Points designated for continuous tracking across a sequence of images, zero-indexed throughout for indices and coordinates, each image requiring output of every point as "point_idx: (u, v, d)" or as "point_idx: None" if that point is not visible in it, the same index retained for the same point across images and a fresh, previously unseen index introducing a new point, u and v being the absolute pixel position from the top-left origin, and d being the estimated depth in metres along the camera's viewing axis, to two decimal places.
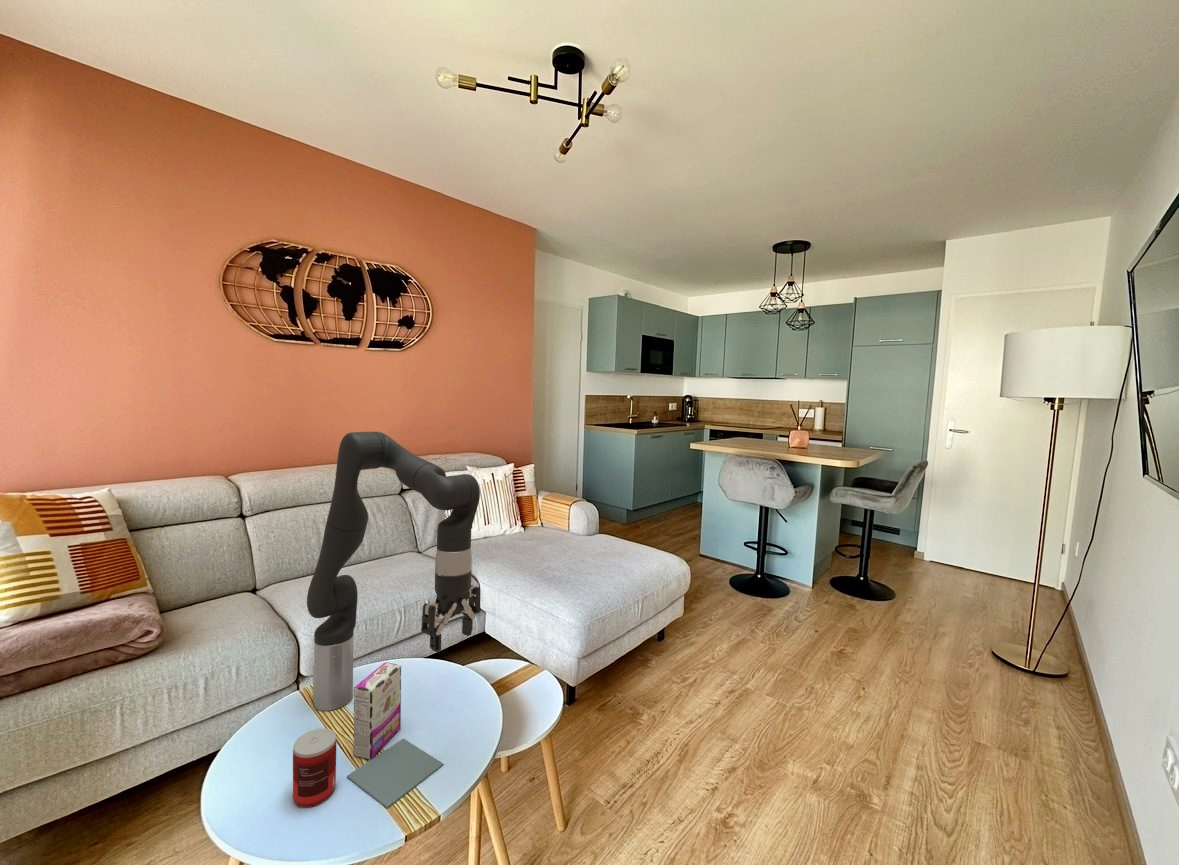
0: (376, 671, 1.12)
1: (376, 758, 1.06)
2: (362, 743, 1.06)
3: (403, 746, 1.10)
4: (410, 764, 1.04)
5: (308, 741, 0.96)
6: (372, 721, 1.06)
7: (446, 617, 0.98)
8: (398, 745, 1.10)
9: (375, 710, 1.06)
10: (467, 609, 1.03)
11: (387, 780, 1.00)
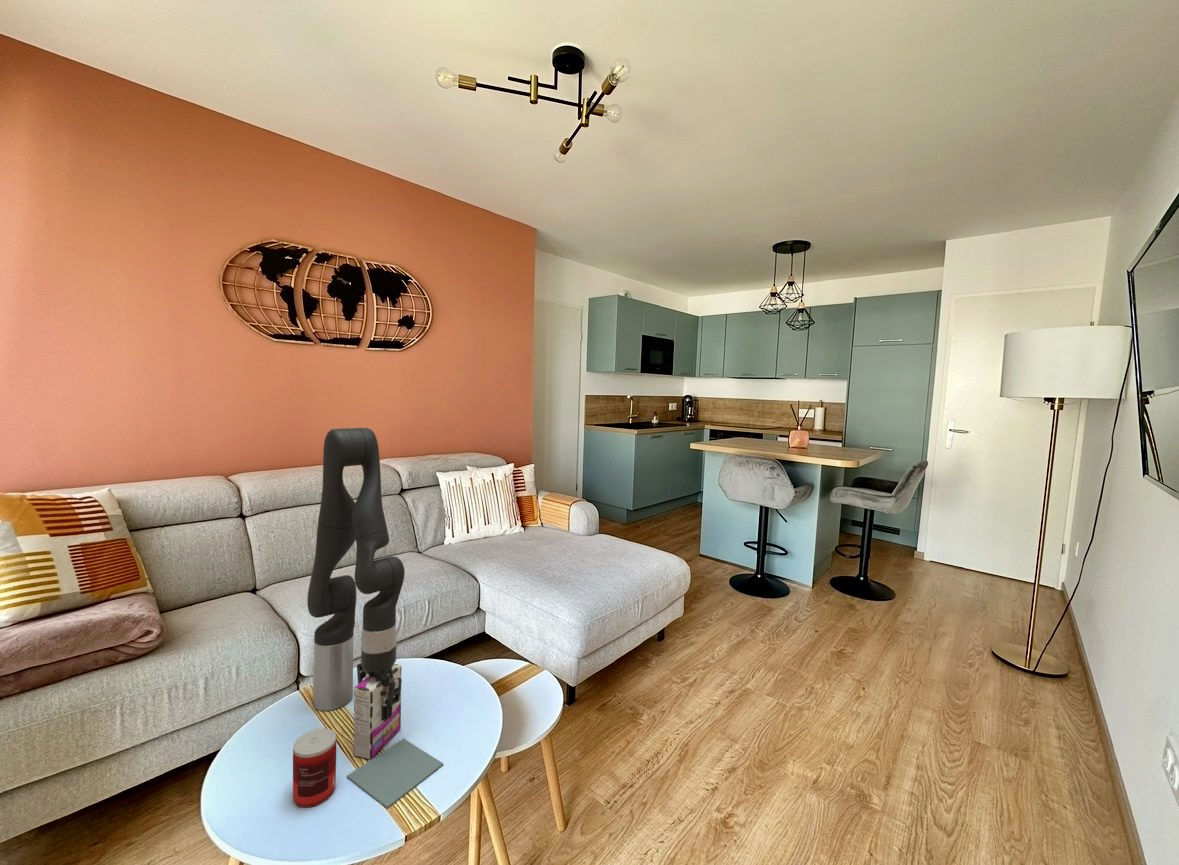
0: None
1: (376, 758, 1.06)
2: (362, 743, 1.06)
3: (403, 746, 1.10)
4: (410, 764, 1.04)
5: (308, 741, 0.96)
6: (372, 721, 1.06)
7: None
8: (398, 745, 1.10)
9: (375, 710, 1.06)
10: None
11: (387, 780, 1.00)
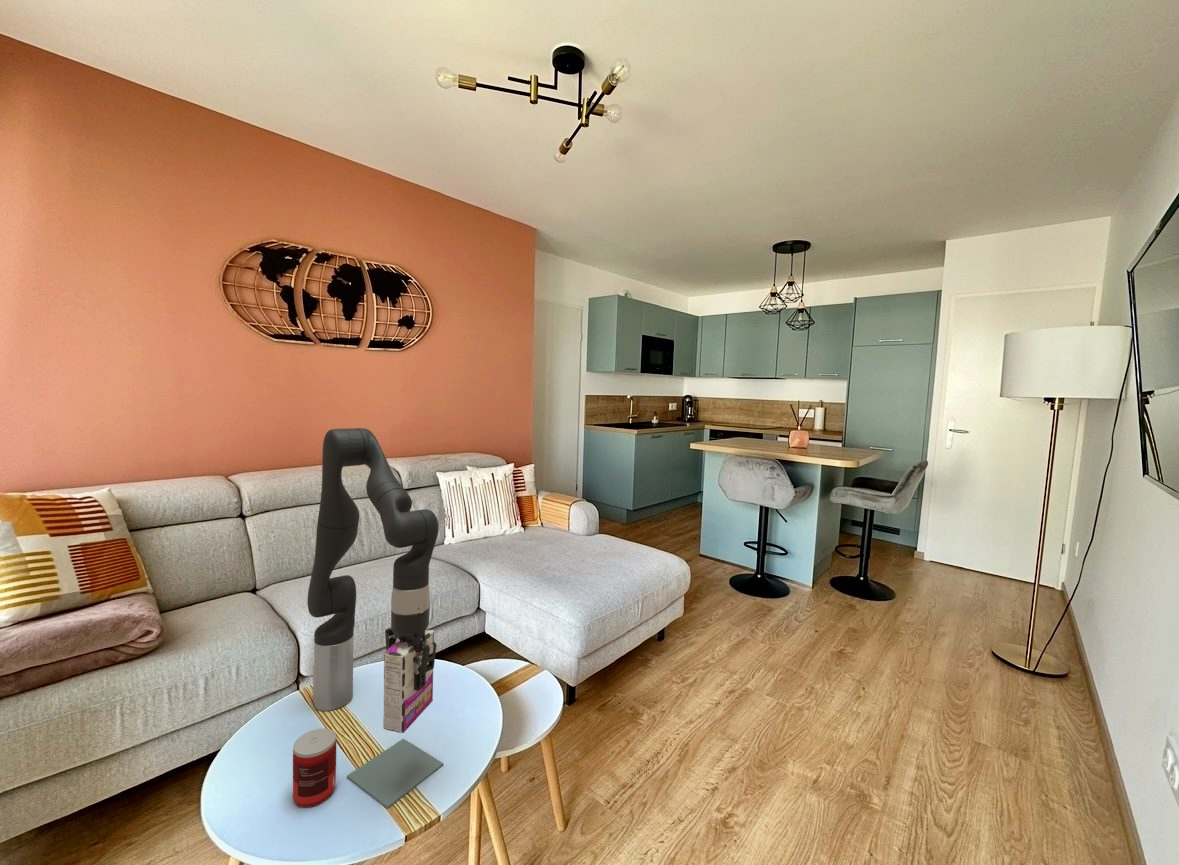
0: None
1: (376, 758, 1.06)
2: (393, 714, 0.95)
3: (403, 746, 1.10)
4: (410, 764, 1.04)
5: (308, 741, 0.96)
6: (405, 690, 0.94)
7: None
8: (398, 745, 1.10)
9: (407, 678, 0.95)
10: None
11: (387, 780, 1.00)
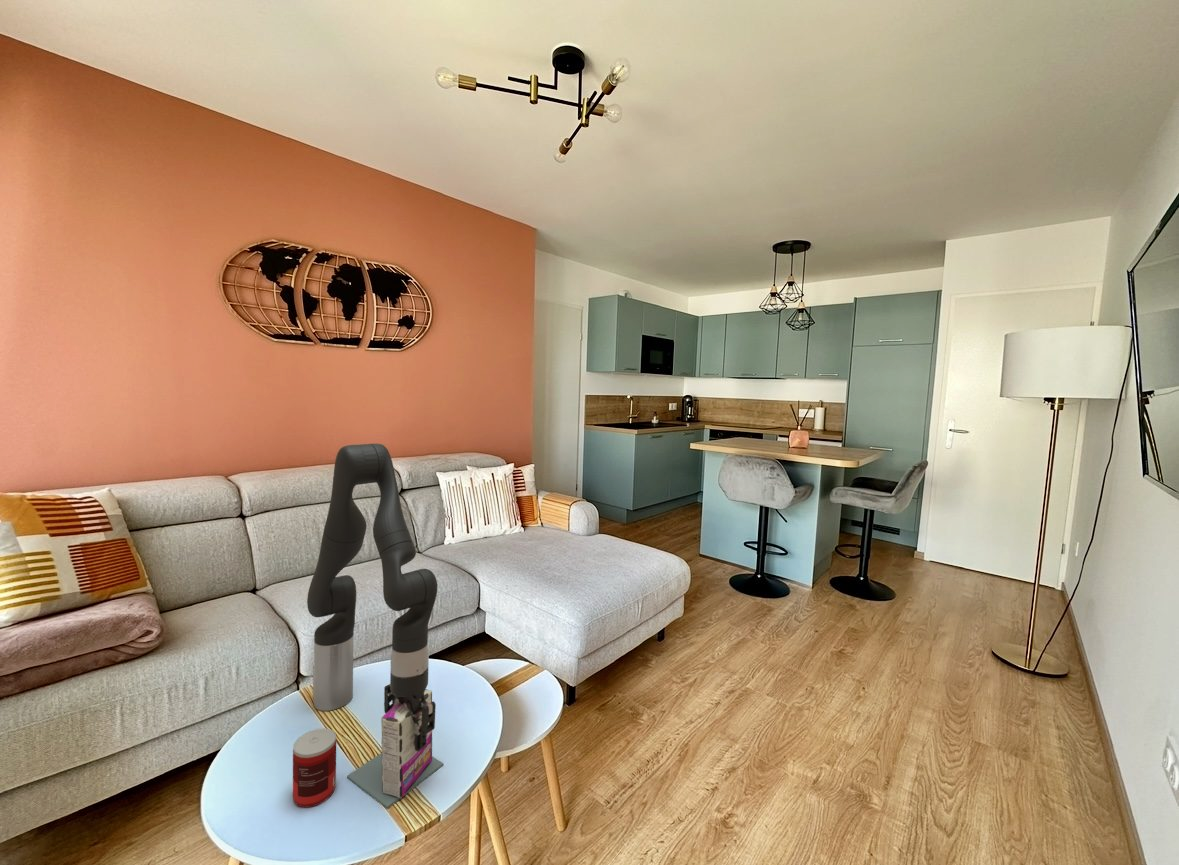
0: None
1: (376, 758, 1.06)
2: (391, 779, 0.95)
3: None
4: None
5: (308, 741, 0.96)
6: (402, 755, 0.95)
7: None
8: None
9: (404, 743, 0.96)
10: None
11: None
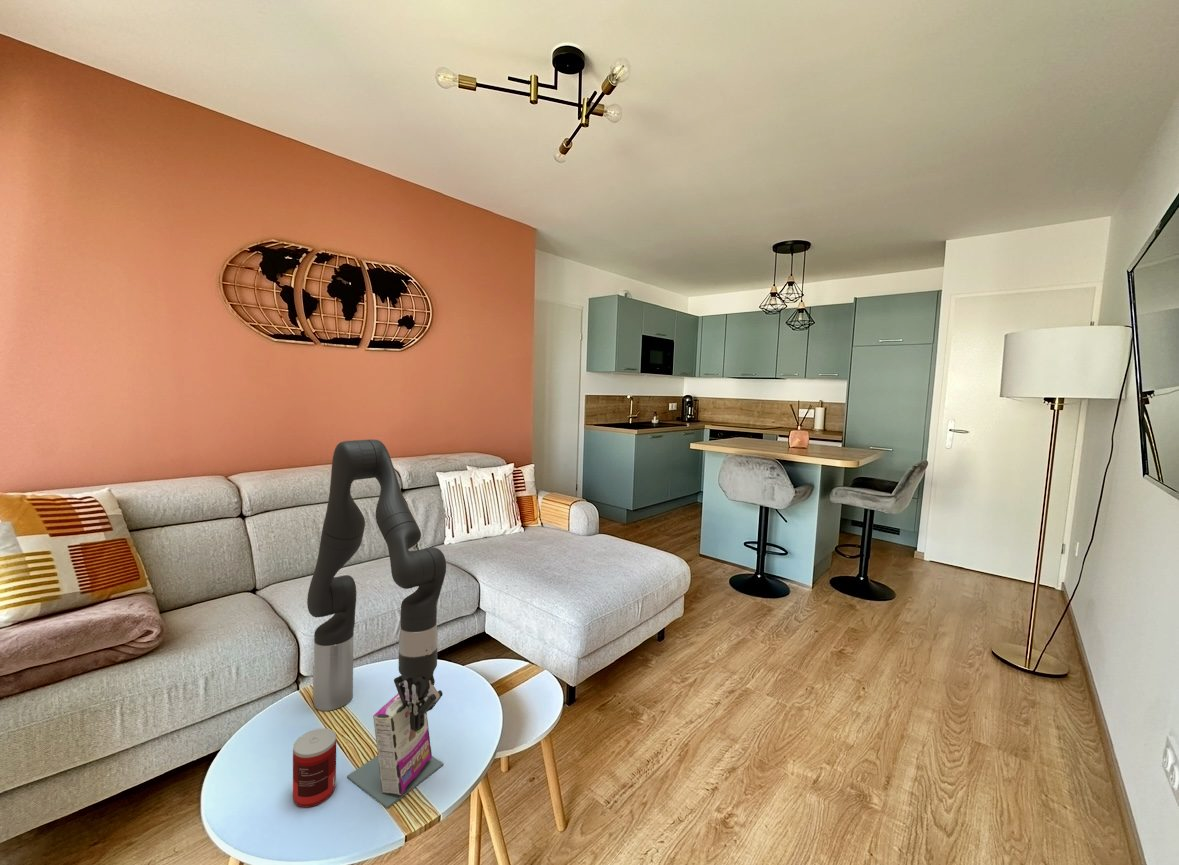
0: (397, 696, 1.02)
1: (376, 758, 1.06)
2: (389, 777, 0.96)
3: None
4: None
5: (308, 741, 0.96)
6: (397, 751, 0.95)
7: None
8: None
9: (398, 738, 0.96)
10: None
11: None
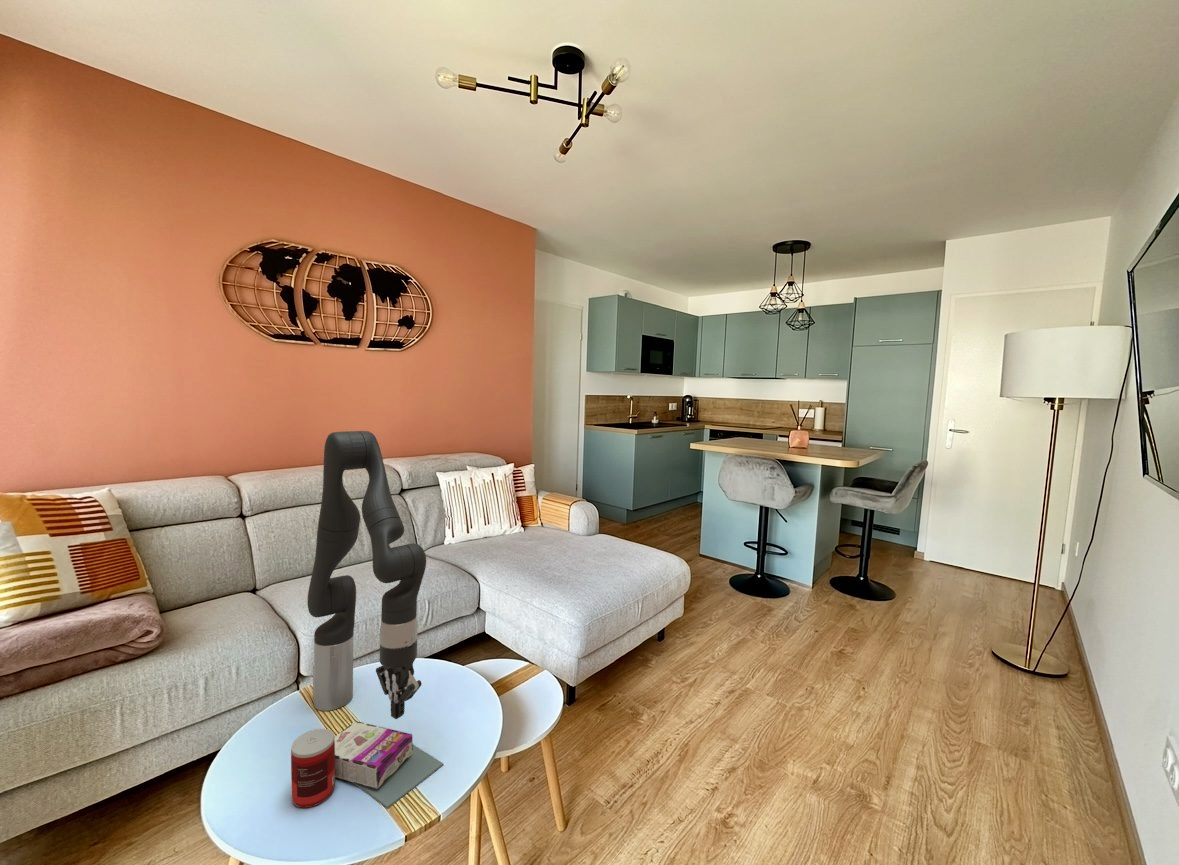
0: None
1: None
2: (362, 774, 0.98)
3: None
4: (410, 764, 1.04)
5: (306, 742, 0.96)
6: (344, 757, 1.00)
7: None
8: None
9: (339, 752, 1.01)
10: None
11: (387, 780, 1.00)
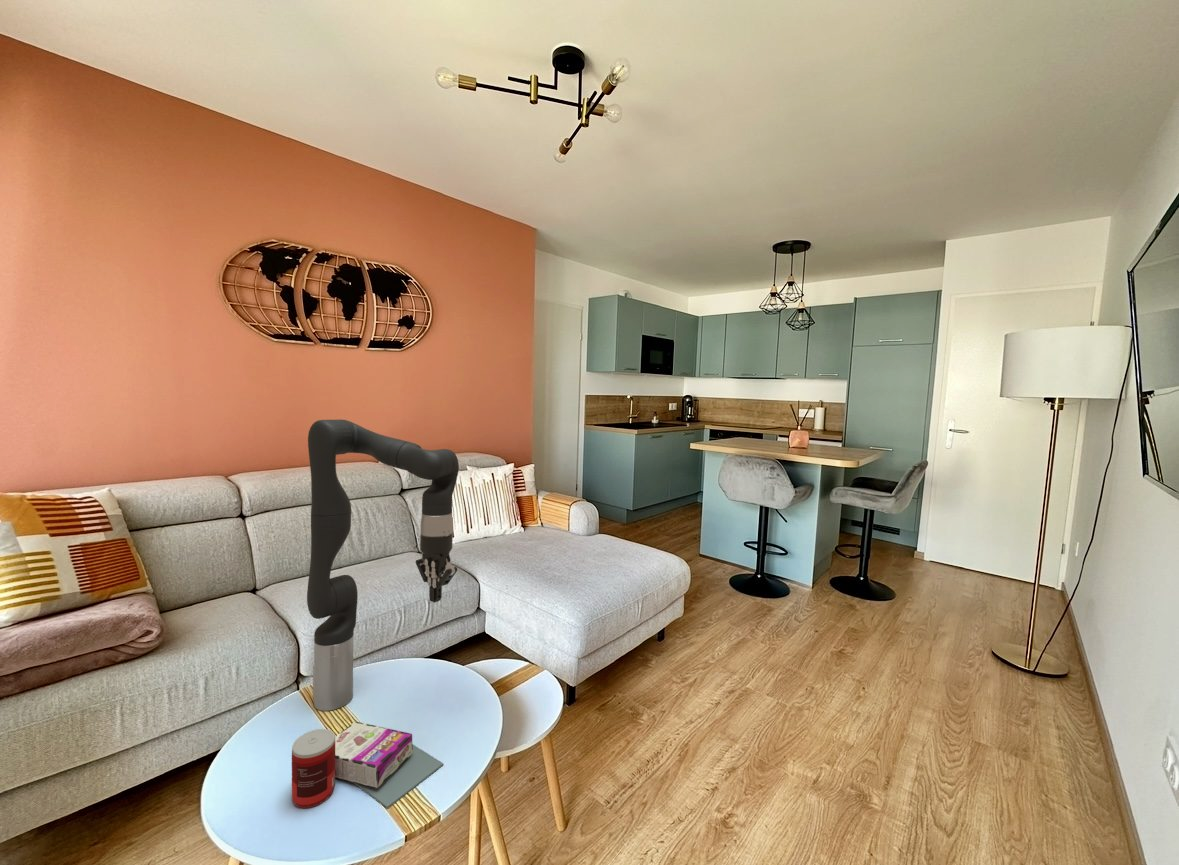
0: None
1: None
2: (362, 773, 0.98)
3: None
4: (410, 764, 1.04)
5: (307, 742, 0.96)
6: (344, 756, 1.00)
7: None
8: None
9: (339, 752, 1.01)
10: None
11: (387, 780, 1.00)
